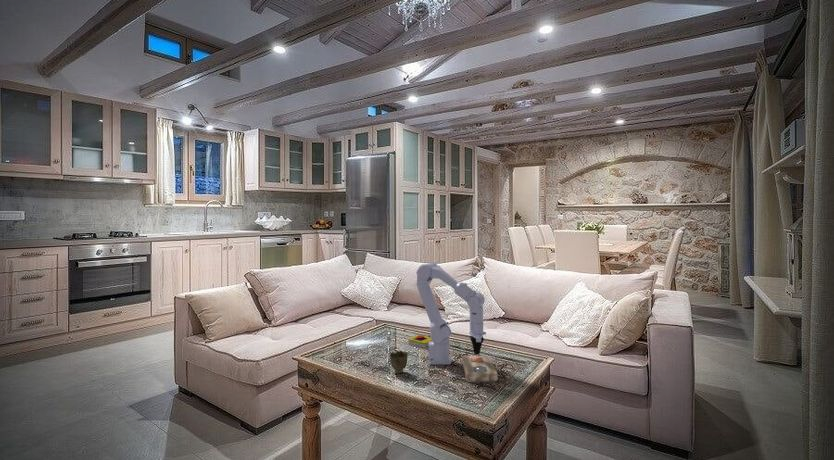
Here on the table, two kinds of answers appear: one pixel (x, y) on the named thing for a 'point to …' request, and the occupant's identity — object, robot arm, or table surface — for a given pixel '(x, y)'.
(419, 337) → the emergency button
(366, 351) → the table surface
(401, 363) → the cup
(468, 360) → the button panel
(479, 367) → the grey button
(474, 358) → the terracotta button
